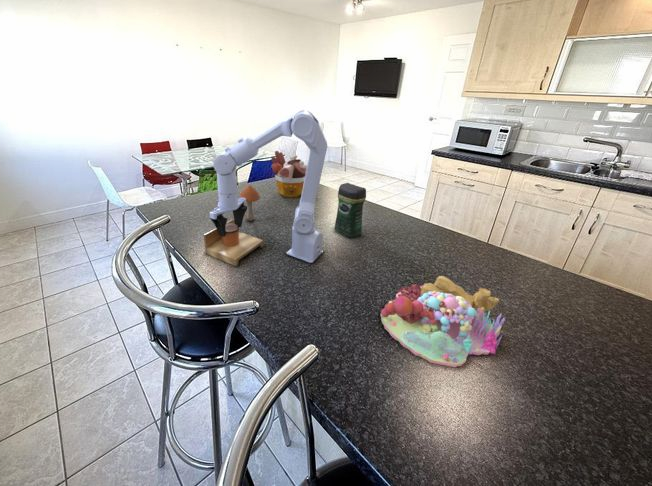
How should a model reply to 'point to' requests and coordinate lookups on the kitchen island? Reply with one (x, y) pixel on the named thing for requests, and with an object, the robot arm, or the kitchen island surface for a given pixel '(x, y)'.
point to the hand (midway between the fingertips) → (230, 230)
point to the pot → (231, 235)
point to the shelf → (230, 252)
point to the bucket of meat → (289, 175)
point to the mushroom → (250, 200)
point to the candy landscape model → (443, 322)
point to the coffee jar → (350, 209)
